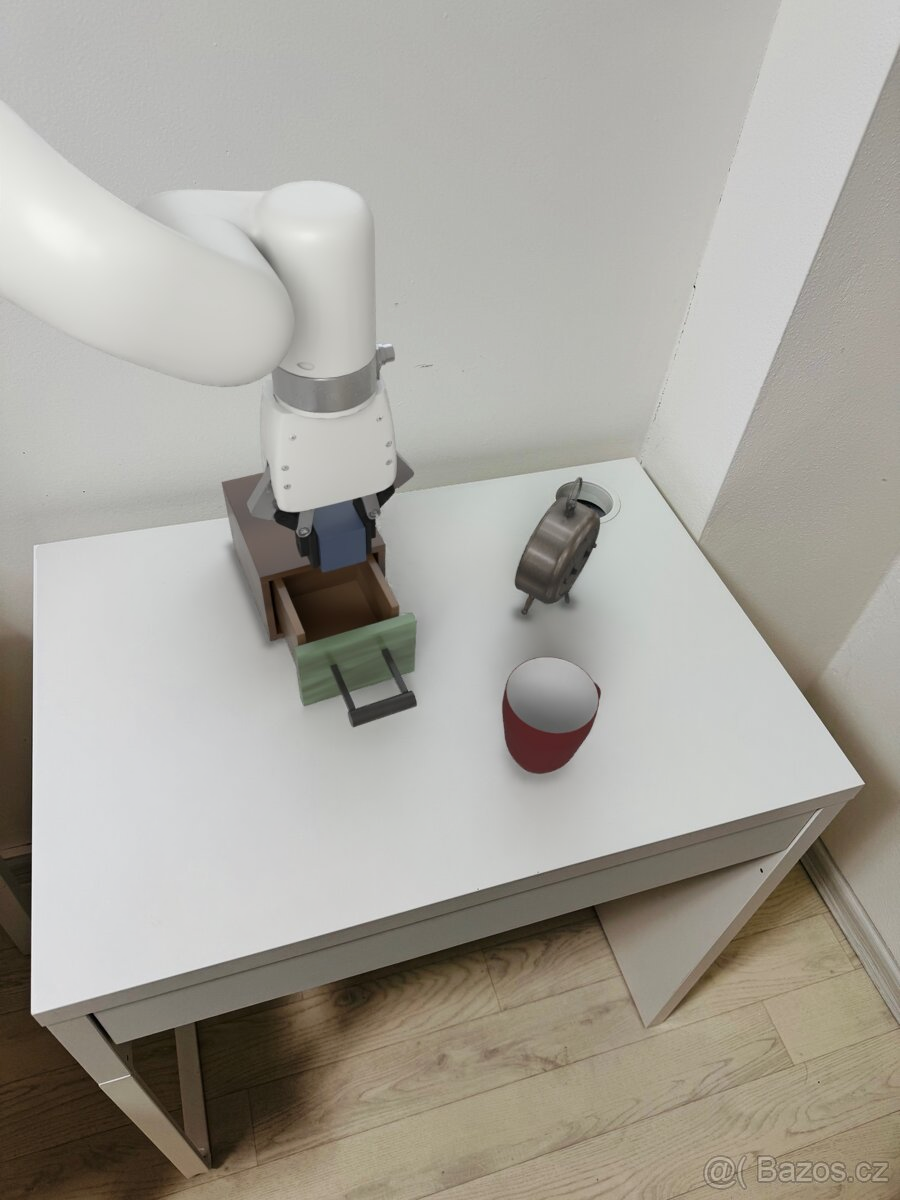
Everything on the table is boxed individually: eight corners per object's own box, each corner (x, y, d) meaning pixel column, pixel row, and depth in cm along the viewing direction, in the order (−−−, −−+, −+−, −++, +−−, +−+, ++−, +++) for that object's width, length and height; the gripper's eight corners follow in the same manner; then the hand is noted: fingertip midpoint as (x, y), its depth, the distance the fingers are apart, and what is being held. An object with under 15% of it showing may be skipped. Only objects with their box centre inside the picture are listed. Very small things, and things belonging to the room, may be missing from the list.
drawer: (442, 725, 79) (446, 676, 73) (326, 765, 75) (321, 717, 70) (367, 578, 91) (365, 526, 85) (264, 607, 87) (255, 554, 81)
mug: (549, 690, 83) (565, 626, 76) (613, 742, 80) (636, 680, 72) (475, 753, 78) (485, 691, 71) (540, 811, 75) (557, 752, 67)
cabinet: (385, 608, 89) (385, 544, 82) (270, 641, 85) (259, 577, 78) (340, 520, 98) (337, 455, 91) (234, 547, 94) (221, 481, 87)
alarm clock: (553, 555, 96) (577, 441, 84) (595, 575, 94) (626, 462, 82) (505, 613, 90) (524, 500, 78) (549, 636, 88) (575, 524, 76)
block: (322, 573, 72) (319, 539, 69) (308, 542, 74) (305, 509, 71) (366, 561, 73) (365, 528, 70) (351, 531, 76) (349, 498, 73)
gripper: (412, 324, 65) (408, 501, 79) (195, 365, 60) (232, 546, 73) (452, 377, 60) (440, 554, 74) (221, 426, 55) (255, 606, 69)
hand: (336, 549), depth 74 cm, fingers closed on block, 4 cm apart
